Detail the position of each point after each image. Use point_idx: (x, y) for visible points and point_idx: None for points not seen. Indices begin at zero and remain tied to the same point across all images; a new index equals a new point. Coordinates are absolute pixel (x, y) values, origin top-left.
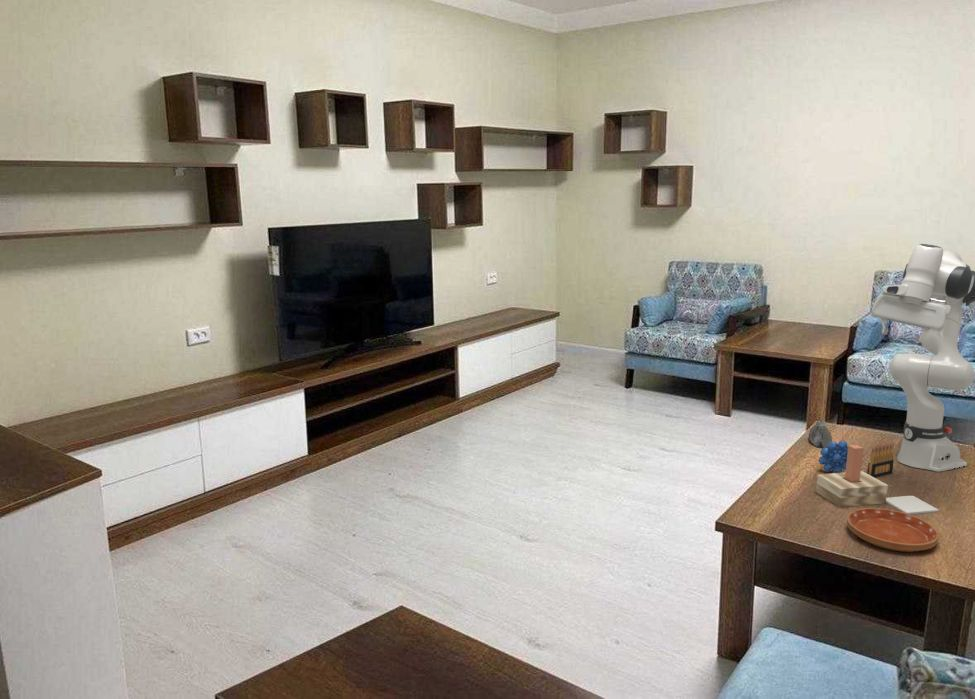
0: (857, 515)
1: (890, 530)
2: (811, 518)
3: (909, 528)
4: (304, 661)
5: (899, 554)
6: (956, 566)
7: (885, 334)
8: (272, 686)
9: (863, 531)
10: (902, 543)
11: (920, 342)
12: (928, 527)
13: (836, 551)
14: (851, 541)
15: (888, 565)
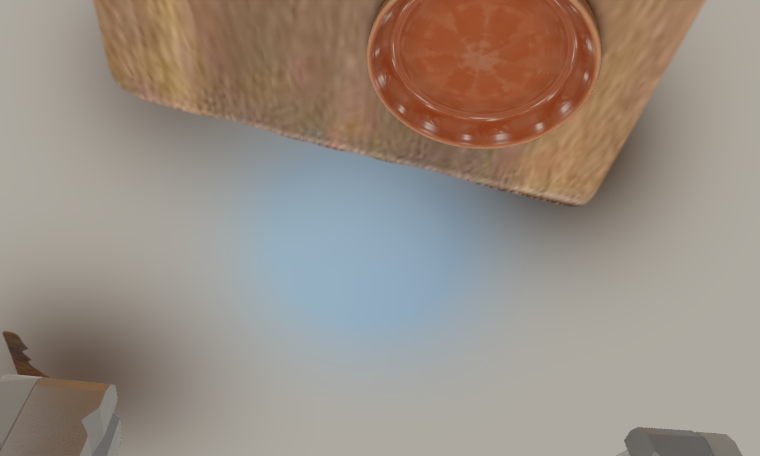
0: (394, 9)
1: (481, 45)
2: (280, 9)
3: (541, 4)
4: (16, 366)
5: None
6: (600, 146)
7: (89, 385)
8: None
9: (412, 64)
10: (489, 147)
11: (714, 437)
12: (587, 33)
13: (359, 147)
14: None
15: (457, 171)
